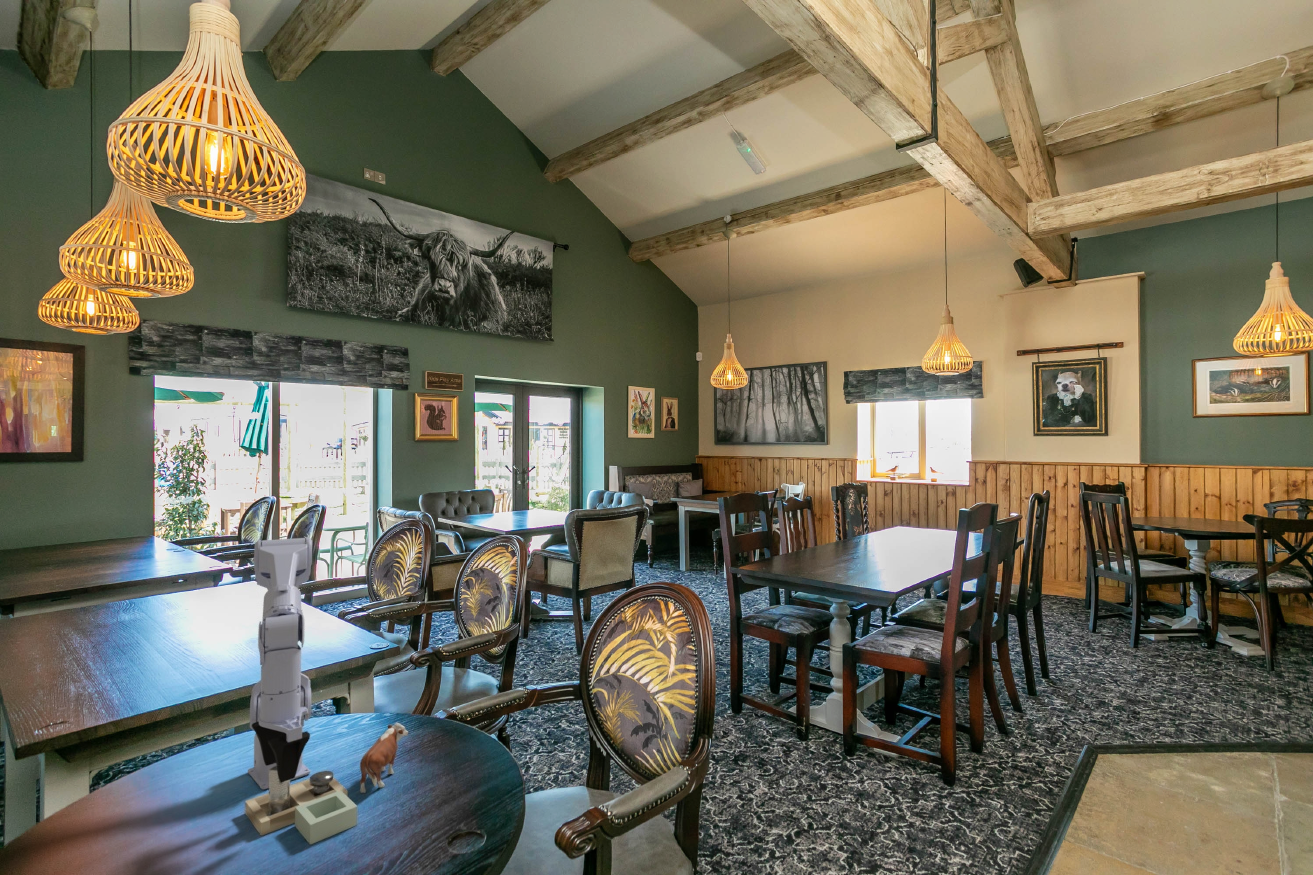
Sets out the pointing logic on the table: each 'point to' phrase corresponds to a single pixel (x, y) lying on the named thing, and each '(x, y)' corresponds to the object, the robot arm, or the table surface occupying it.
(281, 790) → the silver metal cylinder
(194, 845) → the table surface
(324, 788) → the round dark knob
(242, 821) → the table surface
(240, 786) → the table surface
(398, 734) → the bull figurine
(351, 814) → the grey-green hollow square block
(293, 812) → the socket block
